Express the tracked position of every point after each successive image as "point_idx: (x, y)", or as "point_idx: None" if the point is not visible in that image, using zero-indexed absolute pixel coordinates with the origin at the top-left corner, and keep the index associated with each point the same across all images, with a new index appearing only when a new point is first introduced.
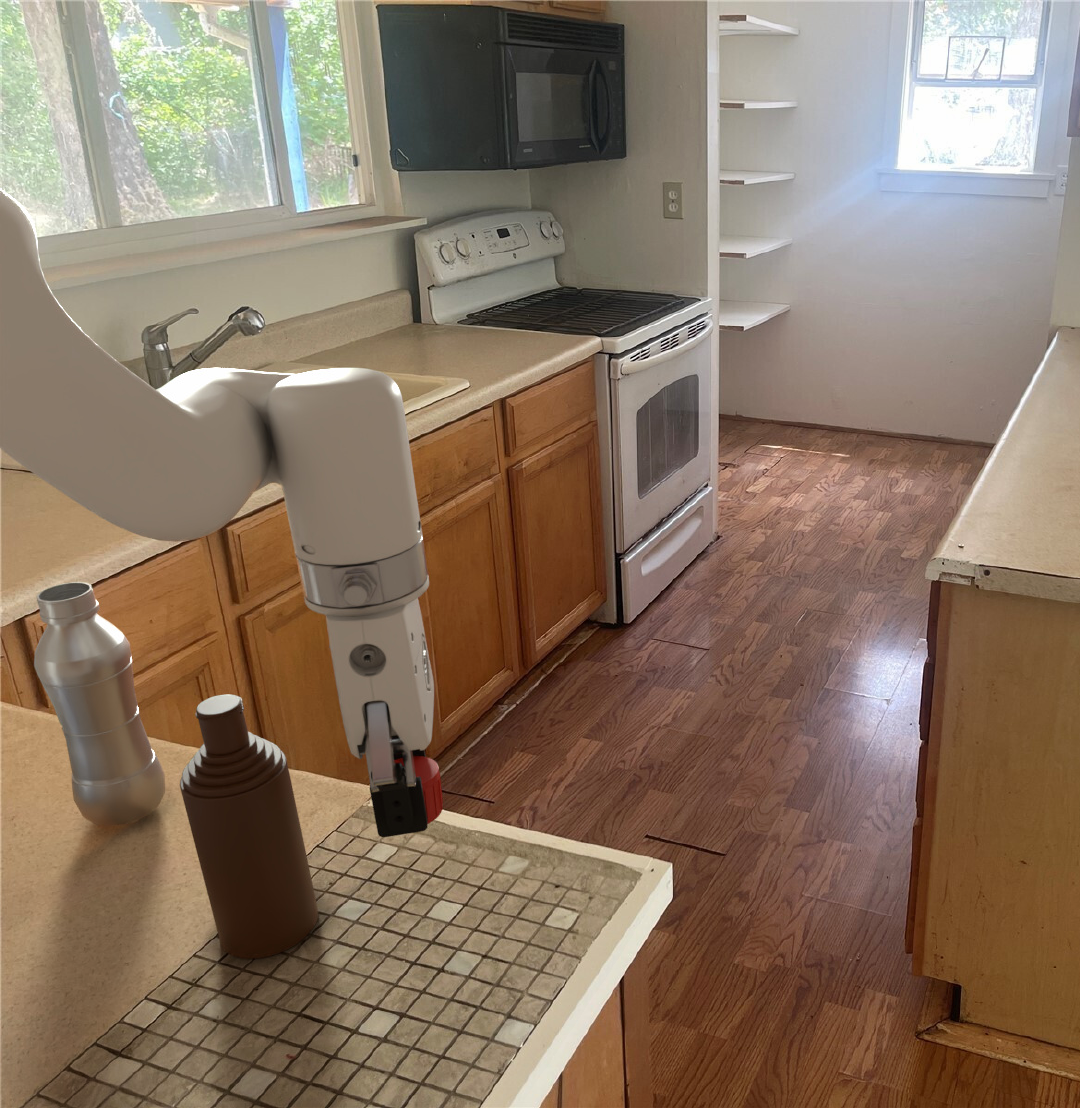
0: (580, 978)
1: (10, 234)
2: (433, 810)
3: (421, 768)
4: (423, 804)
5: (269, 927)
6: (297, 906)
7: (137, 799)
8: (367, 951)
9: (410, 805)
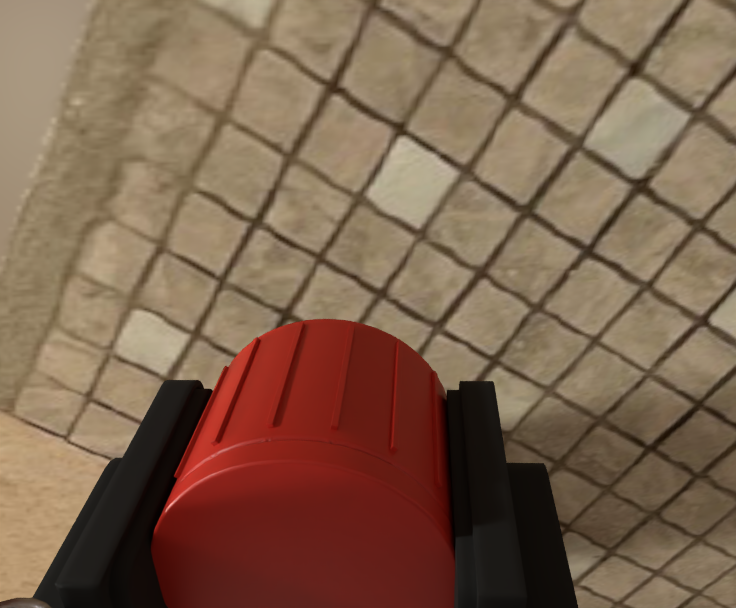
0: None
1: None
2: (408, 374)
3: (277, 533)
4: (506, 470)
5: None
6: None
7: None
8: (509, 349)
9: (540, 535)
